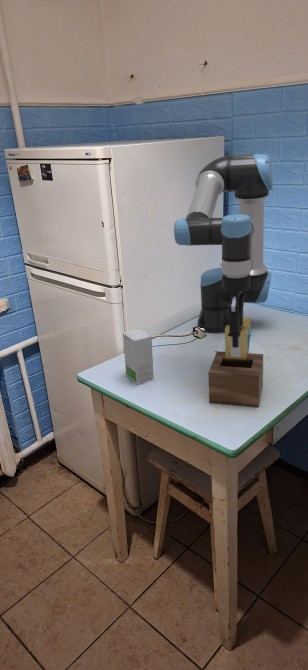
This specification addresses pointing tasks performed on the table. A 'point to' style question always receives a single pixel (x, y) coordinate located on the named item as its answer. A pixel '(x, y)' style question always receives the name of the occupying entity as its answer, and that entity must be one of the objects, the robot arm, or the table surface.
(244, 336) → the block
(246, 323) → the cup
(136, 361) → the skincare box
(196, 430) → the table surface
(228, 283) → the robot arm
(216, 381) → the coin box
